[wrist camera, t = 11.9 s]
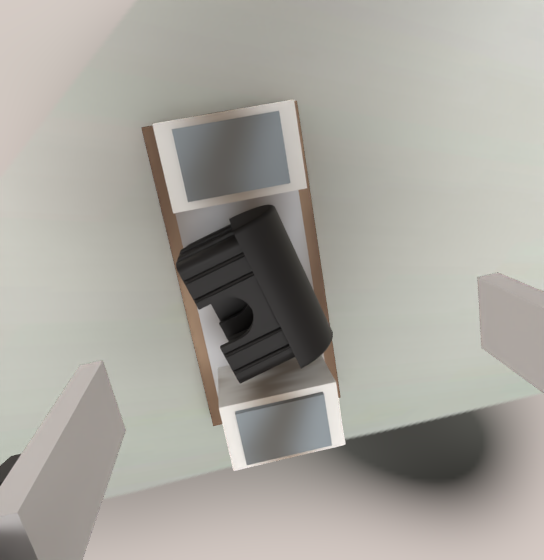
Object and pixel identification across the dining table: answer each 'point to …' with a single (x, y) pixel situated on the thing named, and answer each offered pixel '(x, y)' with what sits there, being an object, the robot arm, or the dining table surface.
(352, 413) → the dining table surface
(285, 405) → the rail board
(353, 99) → the dining table surface
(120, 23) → the dining table surface
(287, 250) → the end cap
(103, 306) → the dining table surface
